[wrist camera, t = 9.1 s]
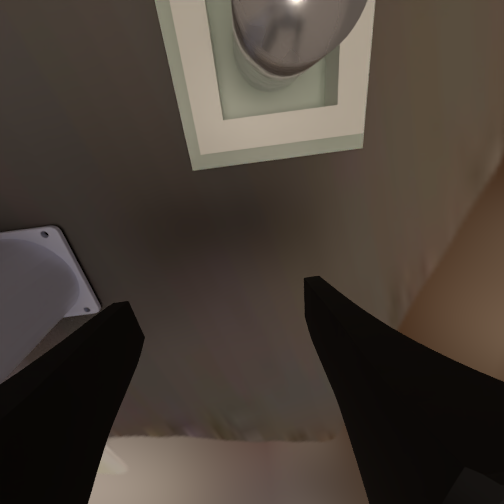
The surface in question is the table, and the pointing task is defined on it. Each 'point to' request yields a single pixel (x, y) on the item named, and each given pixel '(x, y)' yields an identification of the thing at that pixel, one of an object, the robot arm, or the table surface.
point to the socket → (256, 101)
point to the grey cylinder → (287, 36)
